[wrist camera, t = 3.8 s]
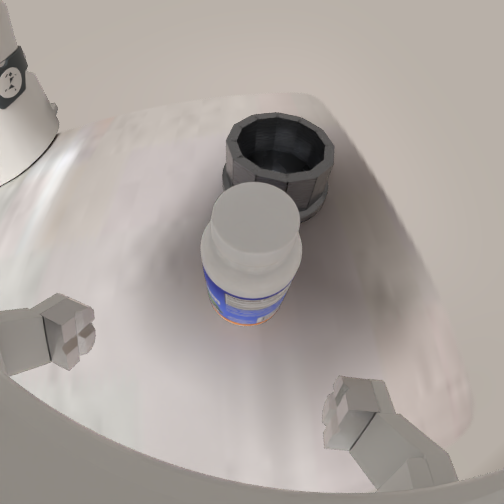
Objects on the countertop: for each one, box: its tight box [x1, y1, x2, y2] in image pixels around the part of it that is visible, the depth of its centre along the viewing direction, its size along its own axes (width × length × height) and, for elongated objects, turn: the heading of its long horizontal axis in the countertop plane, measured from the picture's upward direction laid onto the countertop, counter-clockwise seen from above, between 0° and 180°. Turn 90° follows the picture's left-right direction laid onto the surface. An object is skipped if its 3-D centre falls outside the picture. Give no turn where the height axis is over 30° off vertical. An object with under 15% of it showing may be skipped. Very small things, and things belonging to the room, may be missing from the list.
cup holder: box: [222, 112, 334, 223], centre depth 24 cm, size 10×10×5 cm
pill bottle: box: [200, 182, 302, 326], centre depth 17 cm, size 5×5×10 cm
